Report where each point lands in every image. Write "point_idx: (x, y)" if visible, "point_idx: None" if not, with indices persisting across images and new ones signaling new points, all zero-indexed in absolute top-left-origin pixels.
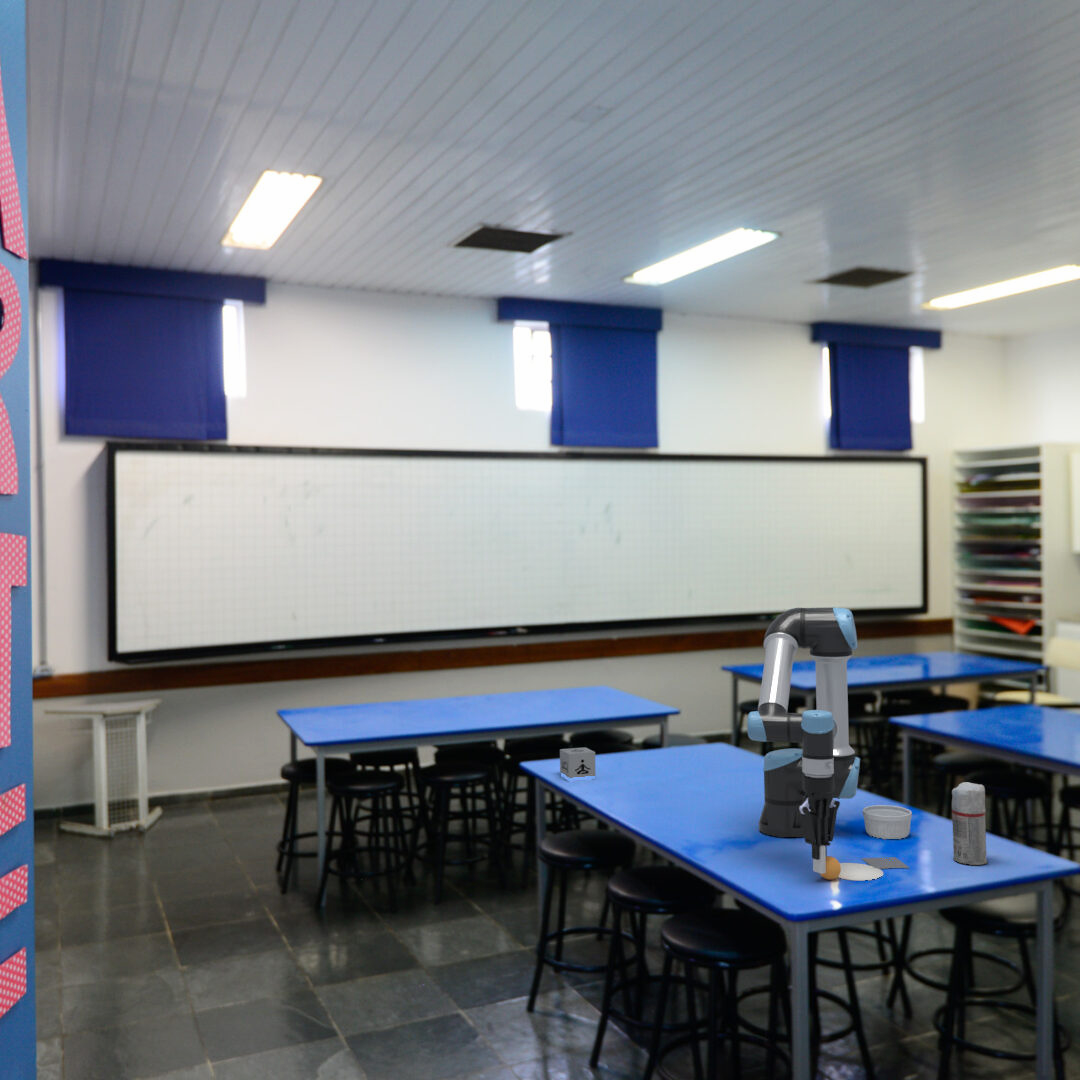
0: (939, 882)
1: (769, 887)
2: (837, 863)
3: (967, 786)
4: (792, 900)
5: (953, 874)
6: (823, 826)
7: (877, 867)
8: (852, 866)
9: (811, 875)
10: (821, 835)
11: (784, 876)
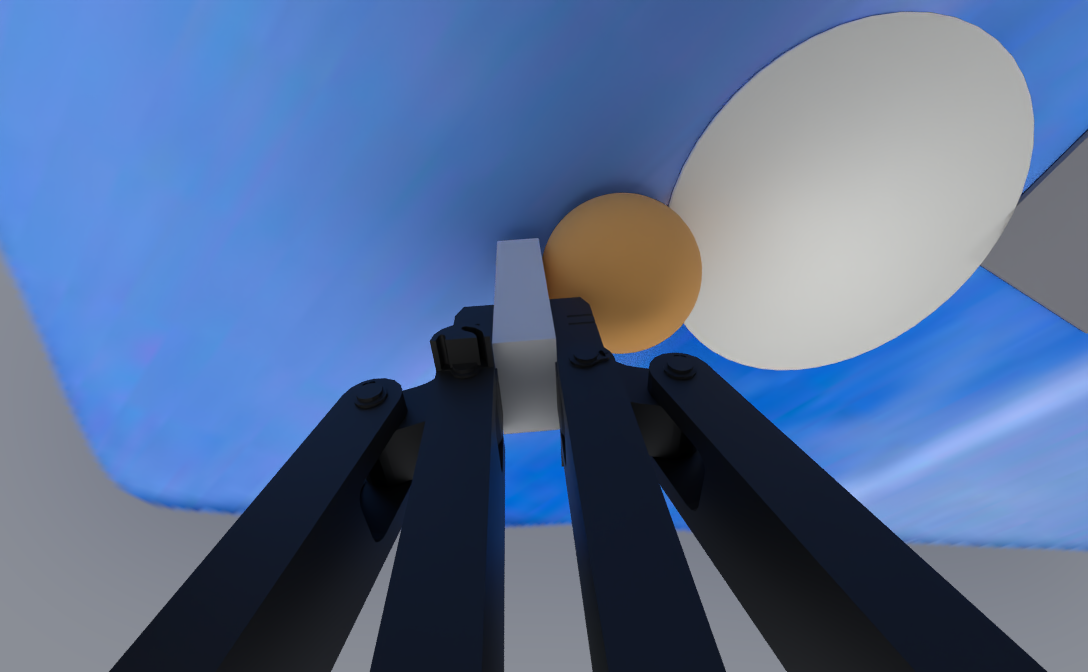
0: (919, 492)
1: (136, 170)
2: (637, 351)
3: None
4: (191, 392)
5: (1067, 461)
6: (584, 605)
7: (999, 249)
8: (935, 149)
9: (569, 125)
10: (567, 465)
11: (372, 20)
